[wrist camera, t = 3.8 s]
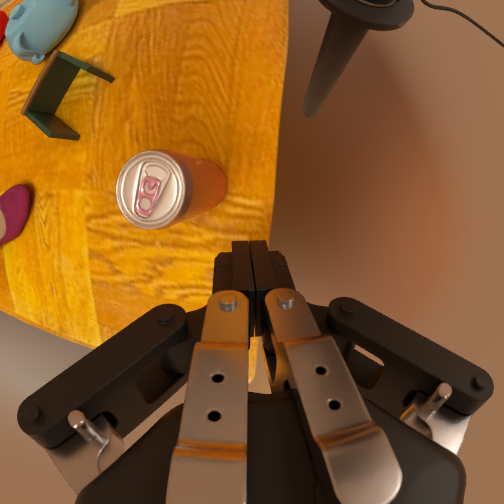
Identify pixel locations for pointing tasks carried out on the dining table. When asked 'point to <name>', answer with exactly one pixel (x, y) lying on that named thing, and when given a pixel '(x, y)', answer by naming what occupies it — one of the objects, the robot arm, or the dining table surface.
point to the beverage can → (167, 188)
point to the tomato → (3, 23)
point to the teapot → (39, 27)
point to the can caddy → (55, 93)
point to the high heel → (13, 212)
